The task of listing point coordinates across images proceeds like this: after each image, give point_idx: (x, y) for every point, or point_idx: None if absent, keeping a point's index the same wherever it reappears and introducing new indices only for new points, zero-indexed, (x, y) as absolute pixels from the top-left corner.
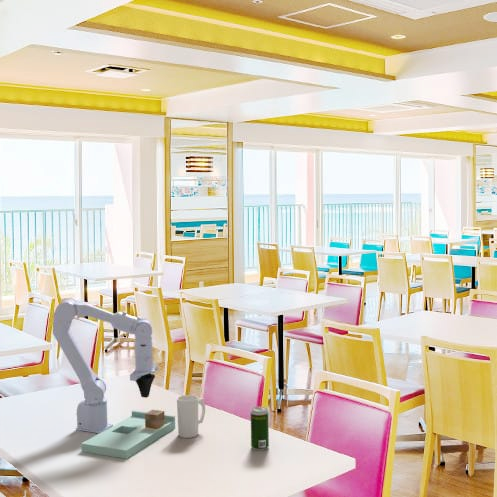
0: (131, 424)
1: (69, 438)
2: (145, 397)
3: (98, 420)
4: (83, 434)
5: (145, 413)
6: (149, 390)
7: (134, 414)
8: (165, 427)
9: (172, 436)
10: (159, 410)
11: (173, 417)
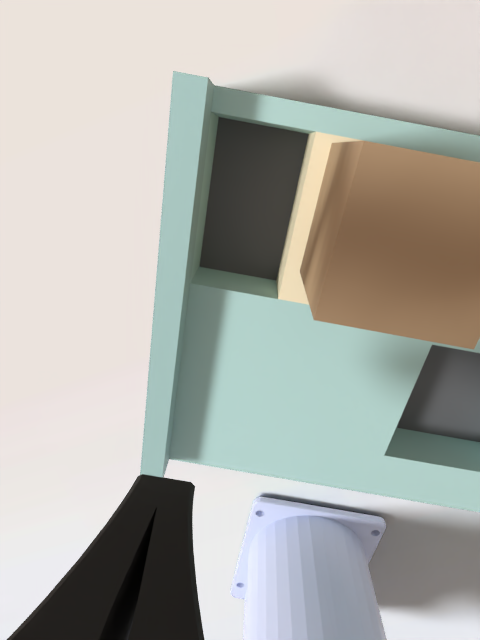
0: (351, 408)
1: (452, 597)
2: (193, 495)
3: (369, 590)
4: (394, 568)
5: (467, 345)
6: (114, 547)
7: (168, 451)
8: (376, 116)
9: (421, 26)
10: (340, 221)
11: (209, 79)
